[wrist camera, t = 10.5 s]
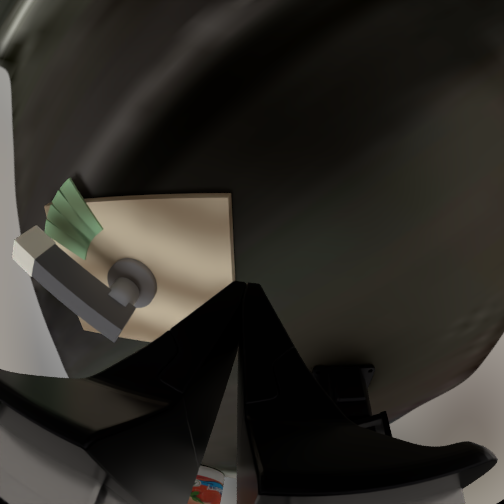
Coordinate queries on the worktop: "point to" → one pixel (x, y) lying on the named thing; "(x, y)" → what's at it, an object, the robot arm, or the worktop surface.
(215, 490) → the fruit juice
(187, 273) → the beige flat board
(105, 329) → the peg
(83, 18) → the worktop surface
